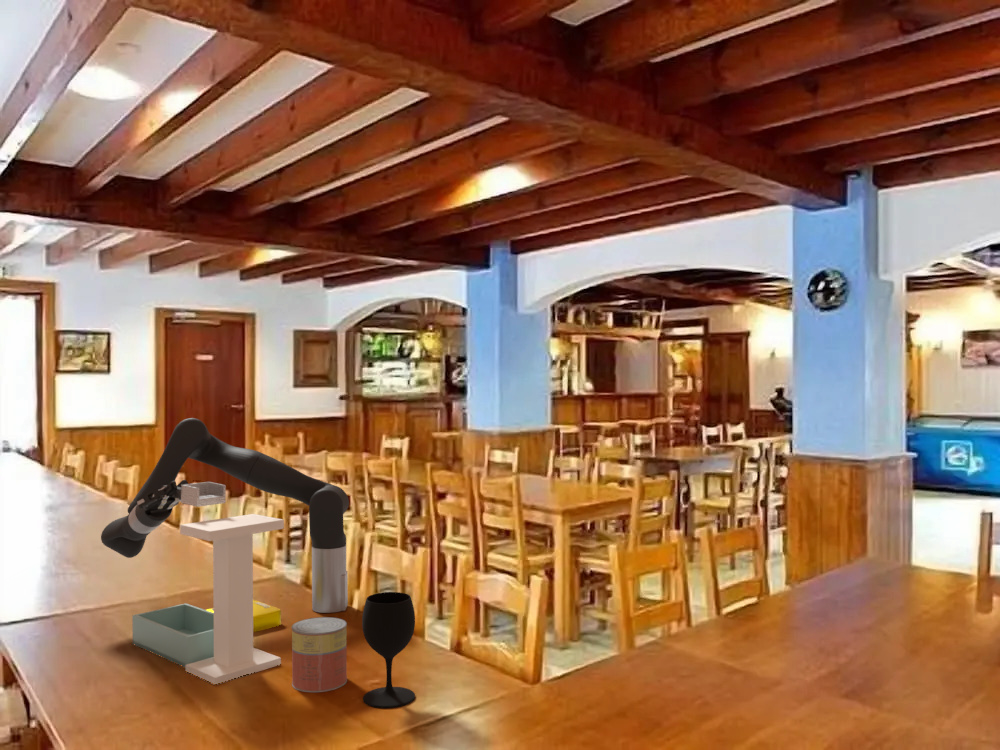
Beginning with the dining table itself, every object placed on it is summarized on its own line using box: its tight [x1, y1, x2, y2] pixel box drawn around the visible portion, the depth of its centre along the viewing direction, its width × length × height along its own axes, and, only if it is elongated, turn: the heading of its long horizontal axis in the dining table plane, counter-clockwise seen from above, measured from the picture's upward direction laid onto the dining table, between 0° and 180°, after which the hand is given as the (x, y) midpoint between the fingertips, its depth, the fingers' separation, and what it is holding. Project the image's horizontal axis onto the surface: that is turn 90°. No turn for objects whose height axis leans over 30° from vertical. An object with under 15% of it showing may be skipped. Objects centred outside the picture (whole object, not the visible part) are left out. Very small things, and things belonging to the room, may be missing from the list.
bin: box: [131, 603, 214, 668], centre depth 198 cm, size 26×14×7 cm, turn 49°
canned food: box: [291, 616, 348, 693], centre depth 177 cm, size 11×11×12 cm
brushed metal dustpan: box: [163, 481, 227, 508], centre depth 197 cm, size 20×7×4 cm, turn 49°
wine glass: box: [361, 591, 416, 709], centre depth 168 cm, size 10×10×20 cm
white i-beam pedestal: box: [179, 513, 285, 685], centre depth 185 cm, size 12×18×32 cm, turn 139°
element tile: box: [205, 599, 282, 633], centre depth 217 cm, size 15×15×5 cm
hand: (180, 484), depth 200 cm, fingers closed on brushed metal dustpan, 2 cm apart
